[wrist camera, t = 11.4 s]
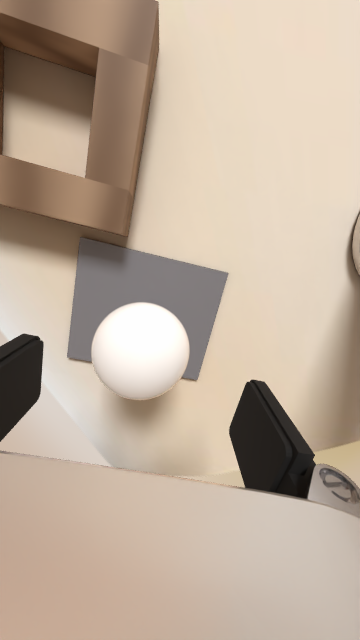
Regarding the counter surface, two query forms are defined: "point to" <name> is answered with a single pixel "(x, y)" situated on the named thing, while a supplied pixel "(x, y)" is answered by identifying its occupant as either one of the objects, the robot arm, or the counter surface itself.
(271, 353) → the counter surface
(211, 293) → the mat
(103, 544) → the robot arm
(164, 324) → the lightbulb
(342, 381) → the counter surface
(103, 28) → the socket collar
